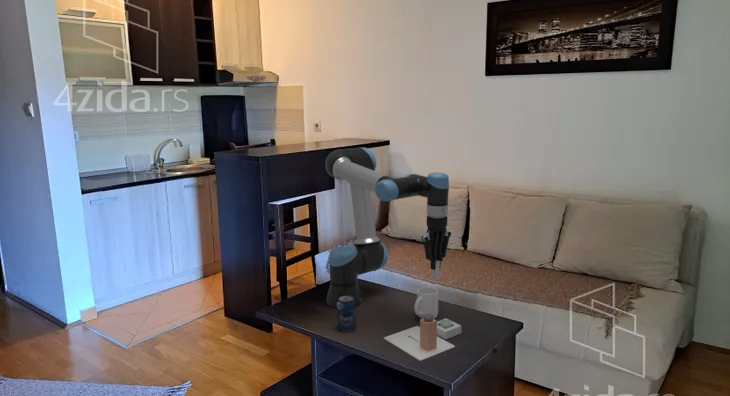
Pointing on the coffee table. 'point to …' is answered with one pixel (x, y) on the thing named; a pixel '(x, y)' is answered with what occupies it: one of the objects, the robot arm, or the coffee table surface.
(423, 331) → the block with dark dome
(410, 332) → the paper
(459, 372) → the coffee table surface
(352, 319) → the soda can
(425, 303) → the mug
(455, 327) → the button housing
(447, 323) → the button
